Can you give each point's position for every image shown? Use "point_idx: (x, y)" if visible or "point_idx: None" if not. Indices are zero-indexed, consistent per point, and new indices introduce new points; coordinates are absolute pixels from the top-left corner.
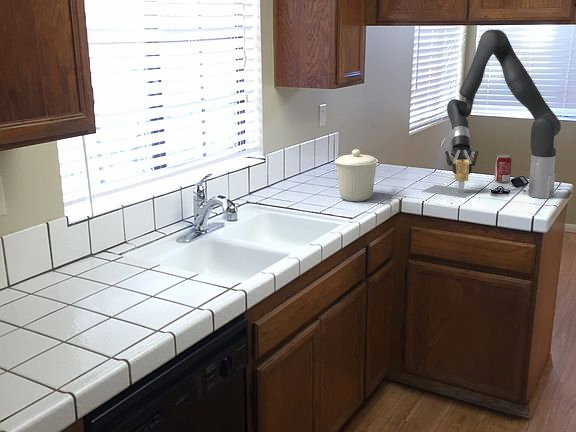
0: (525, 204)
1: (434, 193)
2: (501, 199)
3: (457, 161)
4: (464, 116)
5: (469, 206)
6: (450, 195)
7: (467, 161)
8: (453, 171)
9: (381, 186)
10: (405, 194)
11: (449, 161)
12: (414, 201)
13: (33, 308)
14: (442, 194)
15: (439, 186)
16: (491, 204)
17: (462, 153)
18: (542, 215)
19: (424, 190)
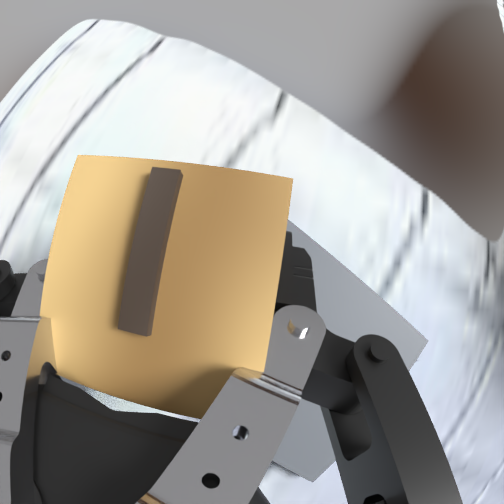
0: (22, 134)
1: (374, 292)
2: (49, 205)
3: (268, 215)
4: None
5: (231, 102)
6: (294, 233)
7: (82, 199)
8: (300, 254)
9: (490, 457)
10: (468, 346)
11: (384, 345)
12: (452, 219)
13: None
14: (336, 262)
15: (302, 452)
16: (123, 126)
17: (63, 497)
18: (62, 40)
19: (408, 362)
